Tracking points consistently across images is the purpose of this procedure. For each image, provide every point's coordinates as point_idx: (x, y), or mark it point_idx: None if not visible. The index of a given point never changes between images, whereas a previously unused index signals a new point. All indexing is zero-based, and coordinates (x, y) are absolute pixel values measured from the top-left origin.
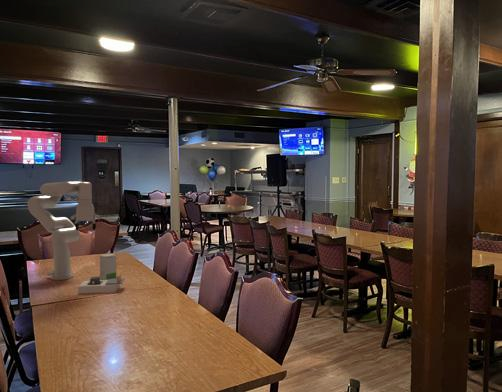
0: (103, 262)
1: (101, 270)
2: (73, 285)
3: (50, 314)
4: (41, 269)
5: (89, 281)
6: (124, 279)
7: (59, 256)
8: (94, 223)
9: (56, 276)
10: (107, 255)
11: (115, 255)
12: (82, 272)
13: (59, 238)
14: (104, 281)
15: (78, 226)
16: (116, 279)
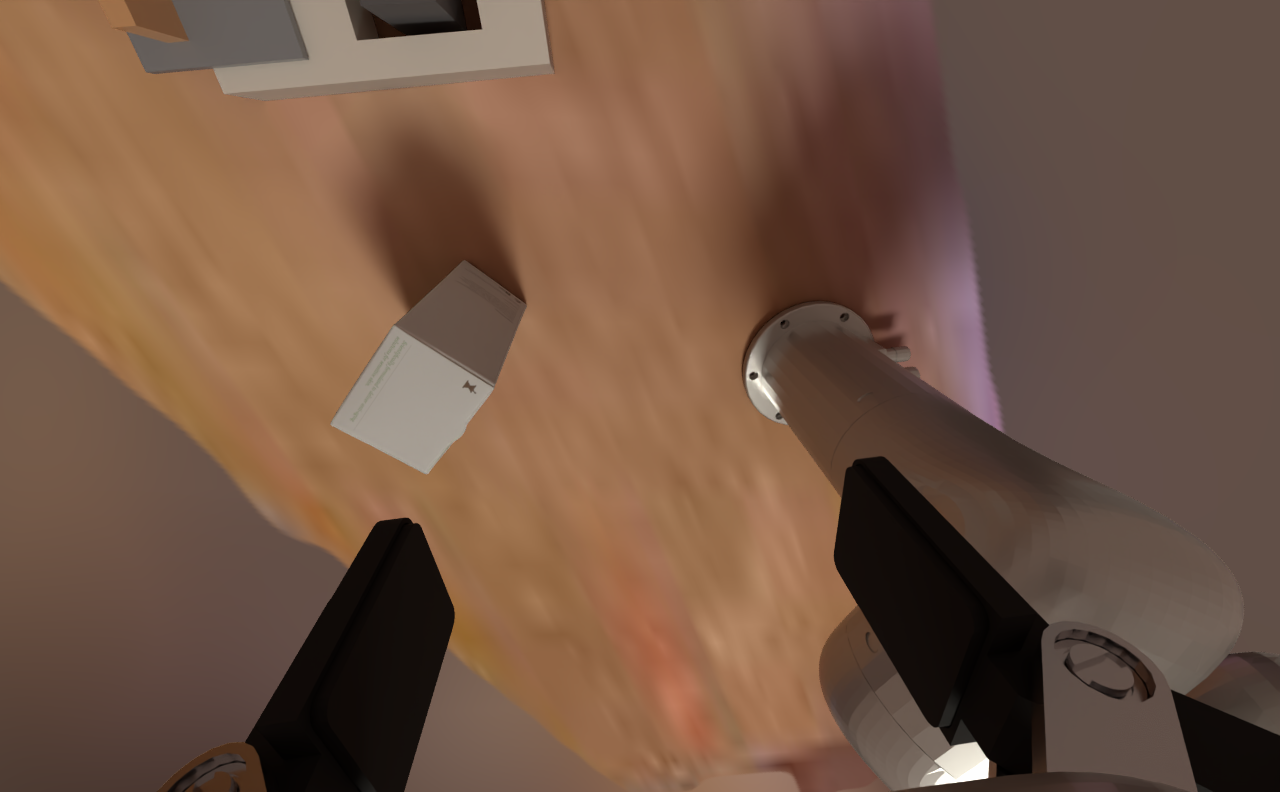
0: (447, 318)
1: (495, 312)
2: (665, 148)
3: None
4: None
5: (486, 26)
6: (136, 45)
7: (903, 387)
8: (233, 746)
9: (841, 326)
10: (401, 379)
11: (336, 413)
12: (716, 478)
13: (1060, 489)
14: (333, 14)
15: (882, 614)
16: (210, 30)
